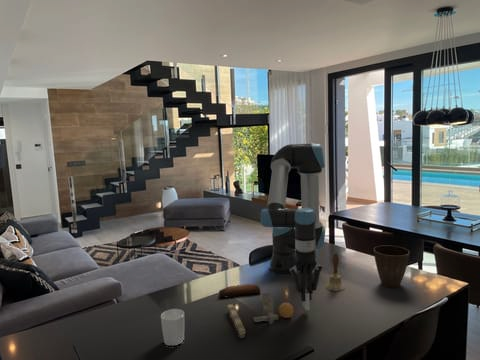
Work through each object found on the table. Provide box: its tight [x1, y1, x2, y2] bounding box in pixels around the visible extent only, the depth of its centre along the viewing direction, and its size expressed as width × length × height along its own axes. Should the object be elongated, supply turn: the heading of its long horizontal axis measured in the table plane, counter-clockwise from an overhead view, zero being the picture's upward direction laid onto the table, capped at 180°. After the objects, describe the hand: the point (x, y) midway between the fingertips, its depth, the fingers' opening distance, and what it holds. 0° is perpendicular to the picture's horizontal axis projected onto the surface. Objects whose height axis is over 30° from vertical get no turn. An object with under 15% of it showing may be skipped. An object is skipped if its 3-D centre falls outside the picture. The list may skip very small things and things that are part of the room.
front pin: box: [253, 313, 279, 322], centre depth 136 cm, size 2×2×9 cm
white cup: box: [160, 308, 185, 346], centre depth 124 cm, size 8×8×10 cm
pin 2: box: [267, 298, 275, 323], centre depth 134 cm, size 2×2×9 cm
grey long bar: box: [227, 304, 247, 335], centre depth 134 cm, size 20×2×3 cm, turn 14°
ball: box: [278, 302, 294, 319], centre depth 138 cm, size 6×6×6 cm
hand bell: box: [325, 252, 346, 292], centre depth 162 cm, size 8×8×16 cm
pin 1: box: [262, 291, 269, 316], centre depth 139 cm, size 2×2×9 cm
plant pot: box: [373, 245, 411, 289], centre depth 163 cm, size 15×15×16 cm
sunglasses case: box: [218, 283, 261, 298], centre depth 161 cm, size 18×7×7 cm
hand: (306, 308), depth 140 cm, fingers closed
